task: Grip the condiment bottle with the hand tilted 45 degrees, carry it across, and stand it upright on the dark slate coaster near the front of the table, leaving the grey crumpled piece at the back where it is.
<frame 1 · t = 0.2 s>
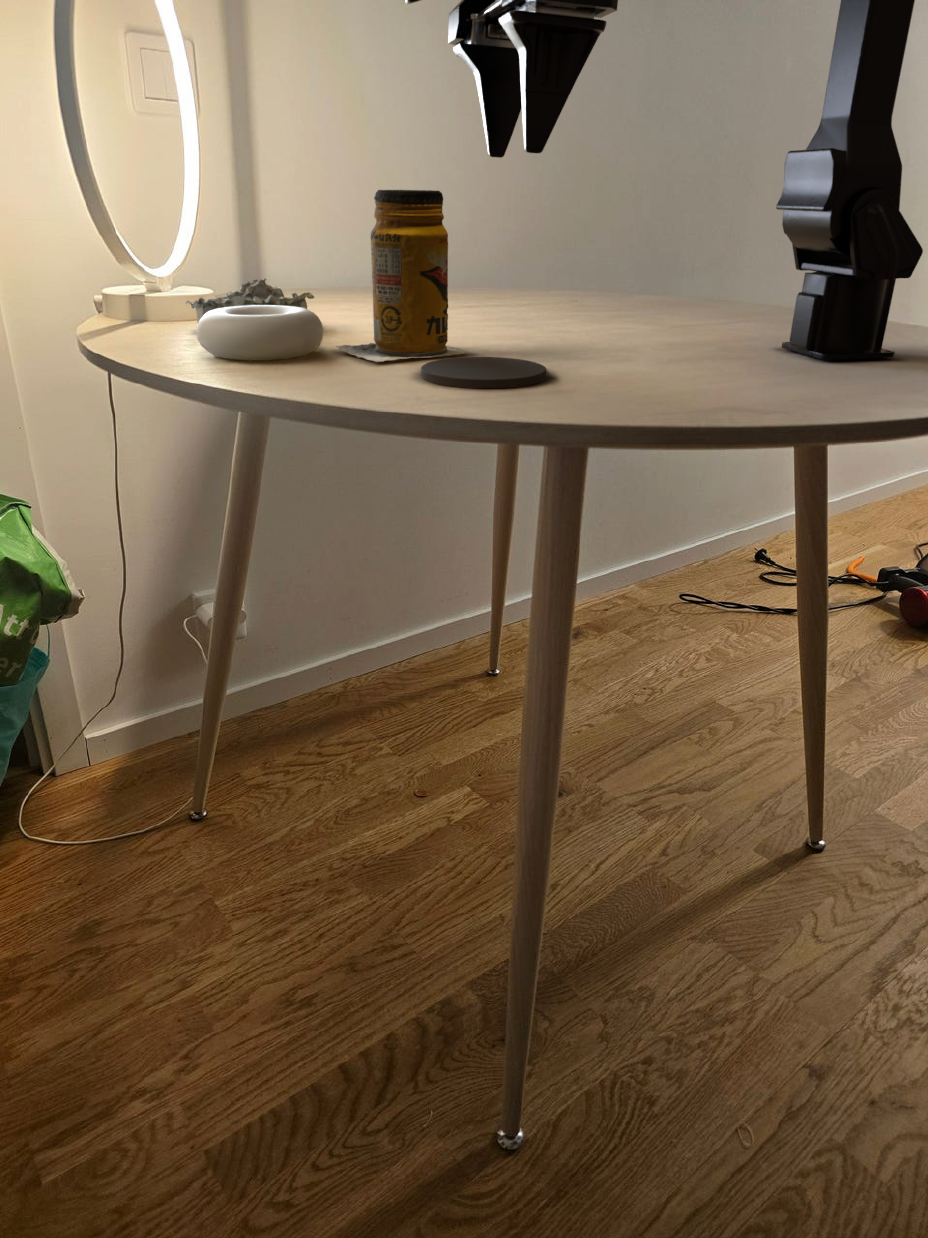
hand: (513, 155, 61), 14 cm above the table, tool pointing down, fingers open, 9 cm apart
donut: (263, 355, 72), on the table
grey crumpled piece: (256, 331, 84), on the table
coaster: (483, 375, 64), on the table
condiment: (401, 354, 72), on the table
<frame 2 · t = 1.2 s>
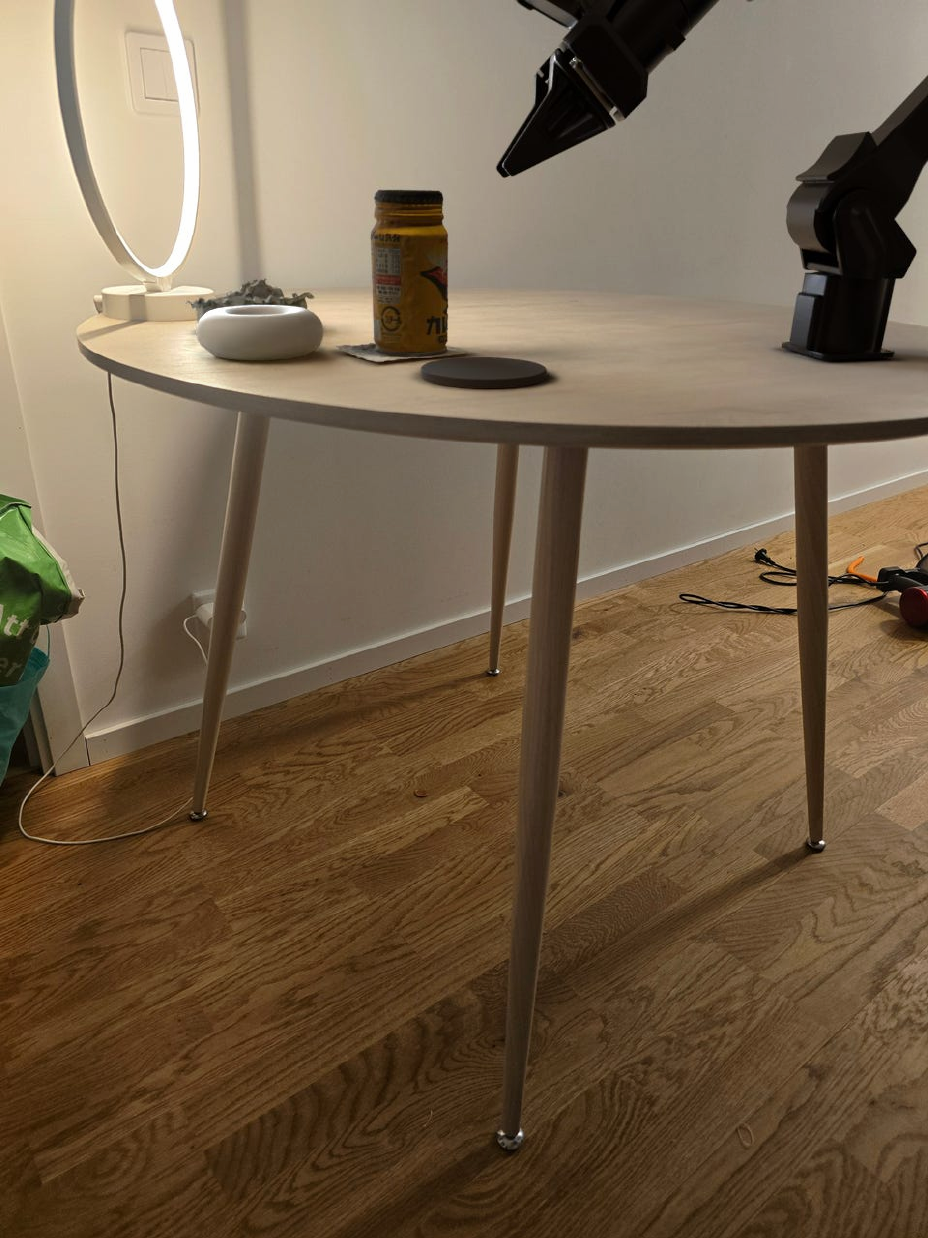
hand: (502, 172, 67), 13 cm above the table, tool tilted 45°, fingers open, 9 cm apart
nothing on the table moved.
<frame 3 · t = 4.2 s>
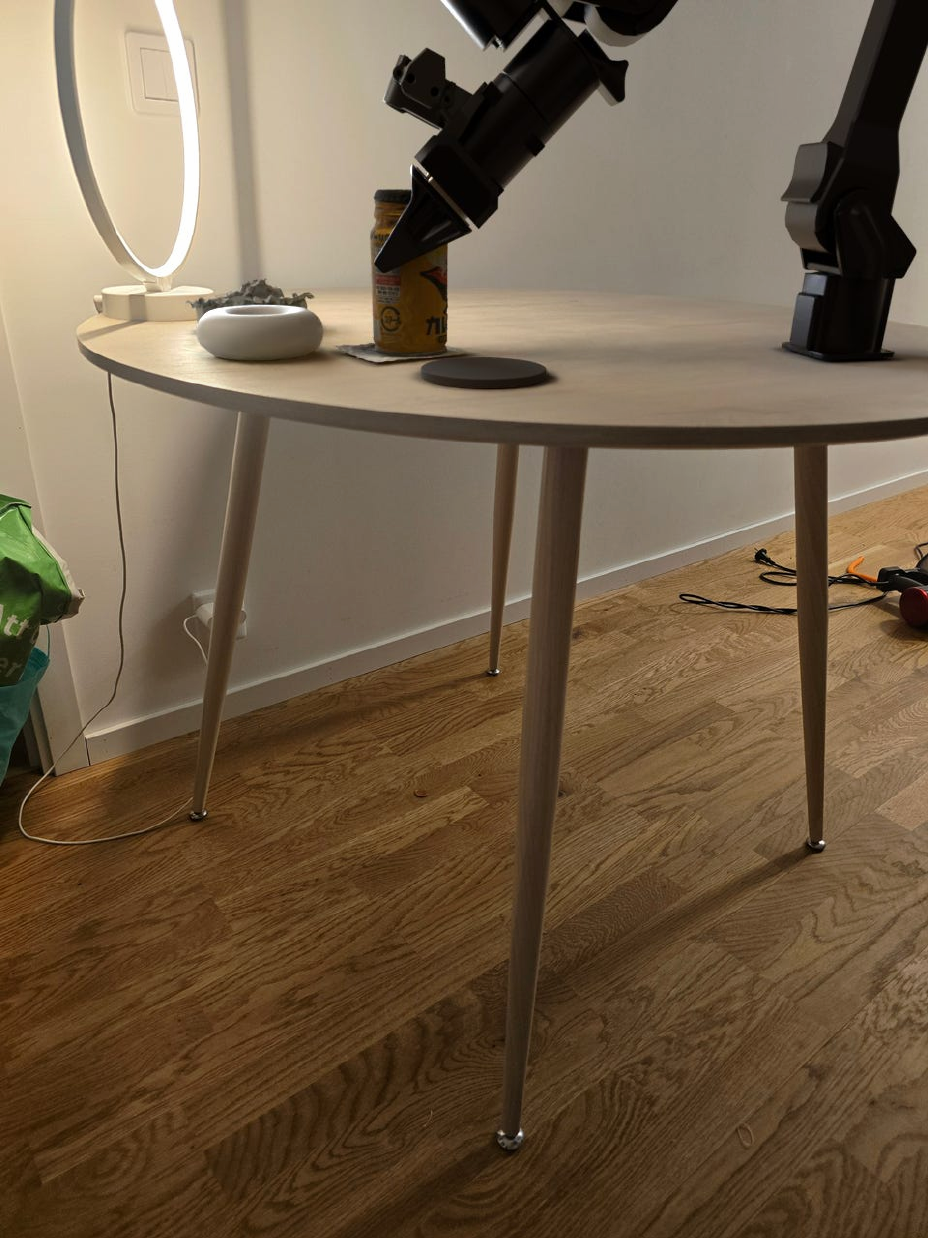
hand: (381, 265, 69), 7 cm above the table, tool tilted 45°, fingers closed on condiment, 6 cm apart
condiment: (400, 354, 72), on the table, touching gripper
everything else where it was.
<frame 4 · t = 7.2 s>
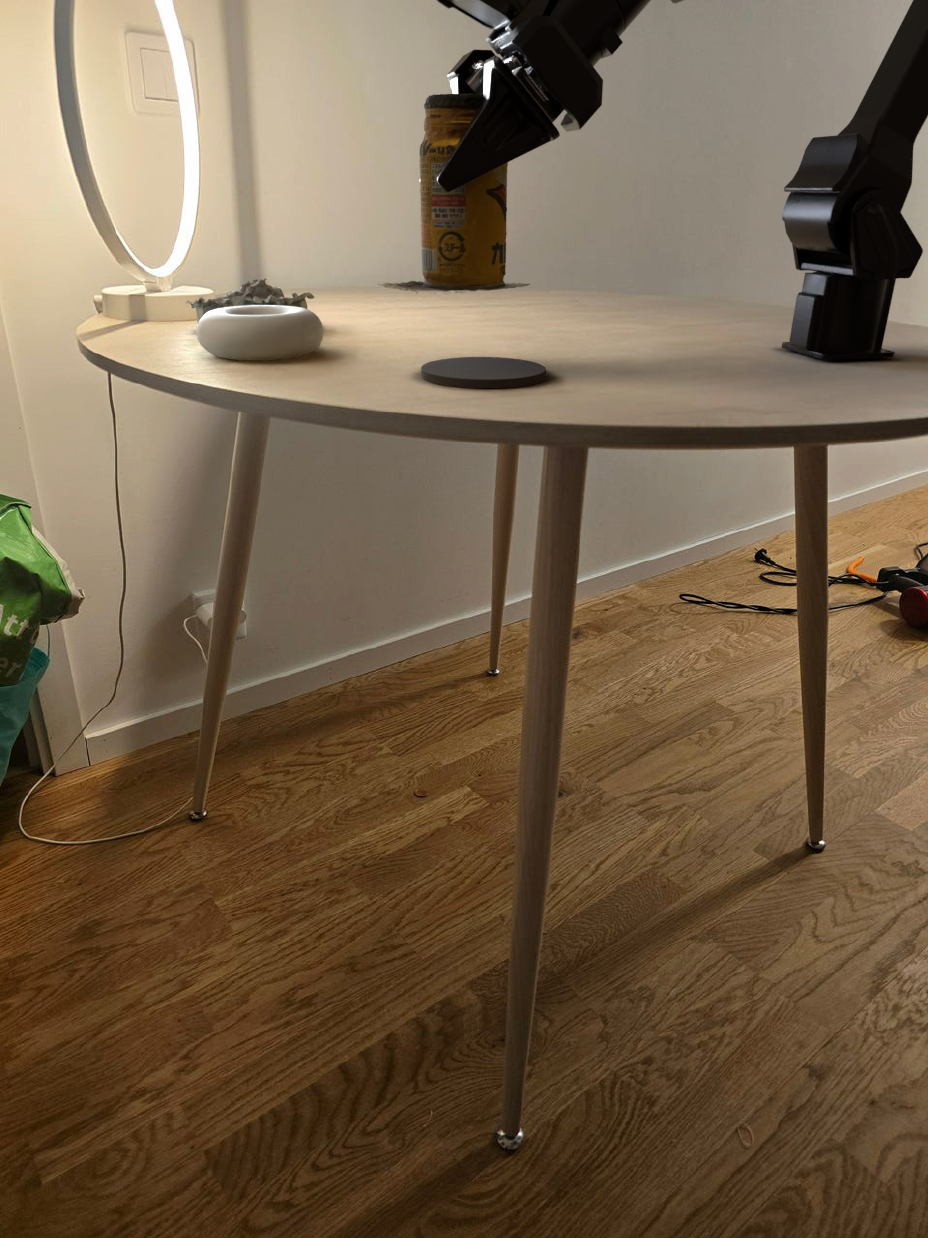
hand: (432, 186, 61), 12 cm above the table, tool tilted 45°, fingers closed on condiment, 6 cm apart
condiment: (454, 291, 64), point 5 cm above the table, touching gripper
everything else where it was.
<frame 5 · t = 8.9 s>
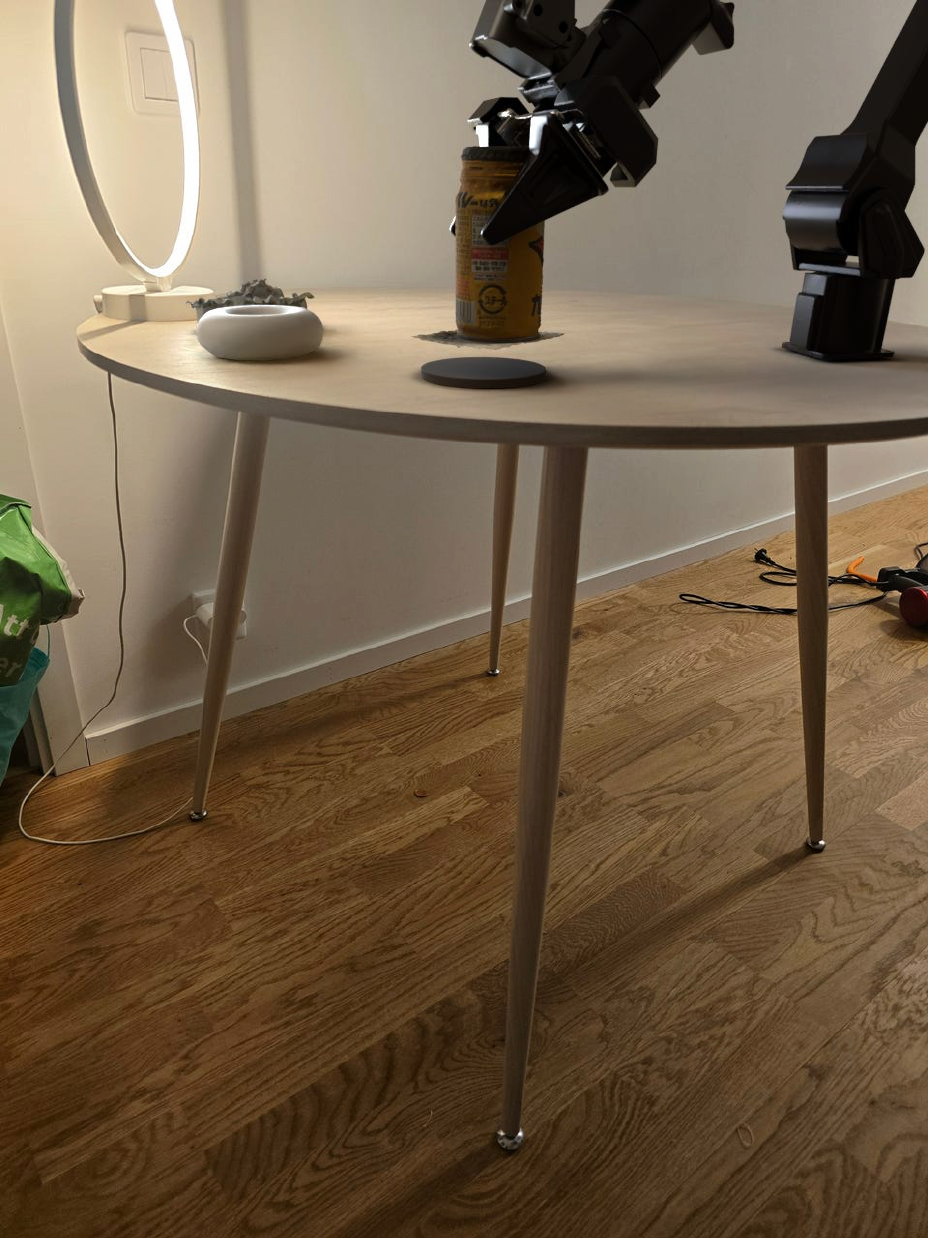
hand: (469, 237, 59), 9 cm above the table, tool tilted 45°, fingers closed on condiment, 6 cm apart
condiment: (489, 341, 62), point 2 cm above the table, touching gripper
everything else where it was.
when the fingers open (7 cm above the table, at t = 10.1 s): condiment stays where it is, resting on coaster.
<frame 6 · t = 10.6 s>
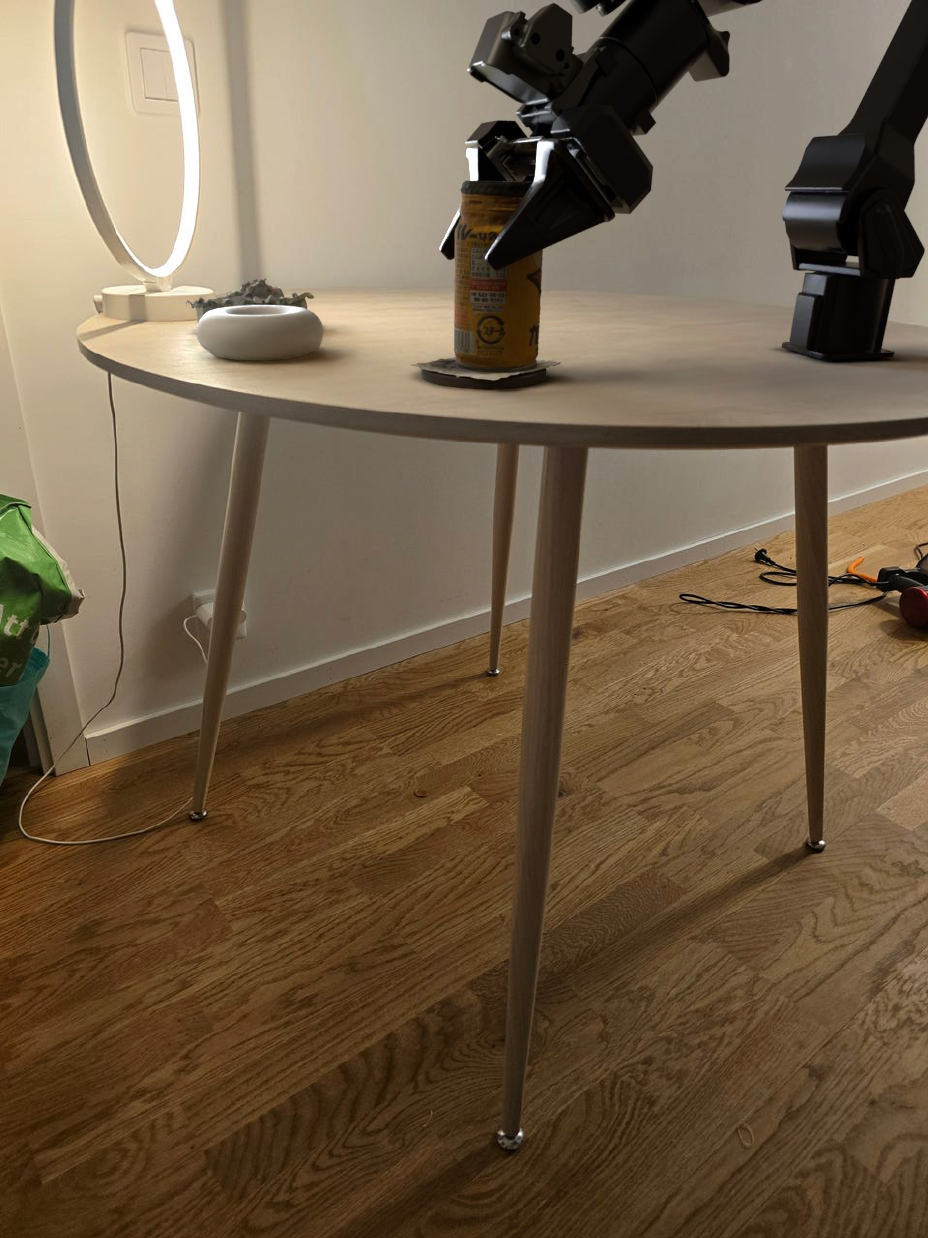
hand: (465, 259, 60), 8 cm above the table, tool tilted 45°, fingers open, 9 cm apart
condiment: (487, 370, 63), resting on coaster
everything else where it was.
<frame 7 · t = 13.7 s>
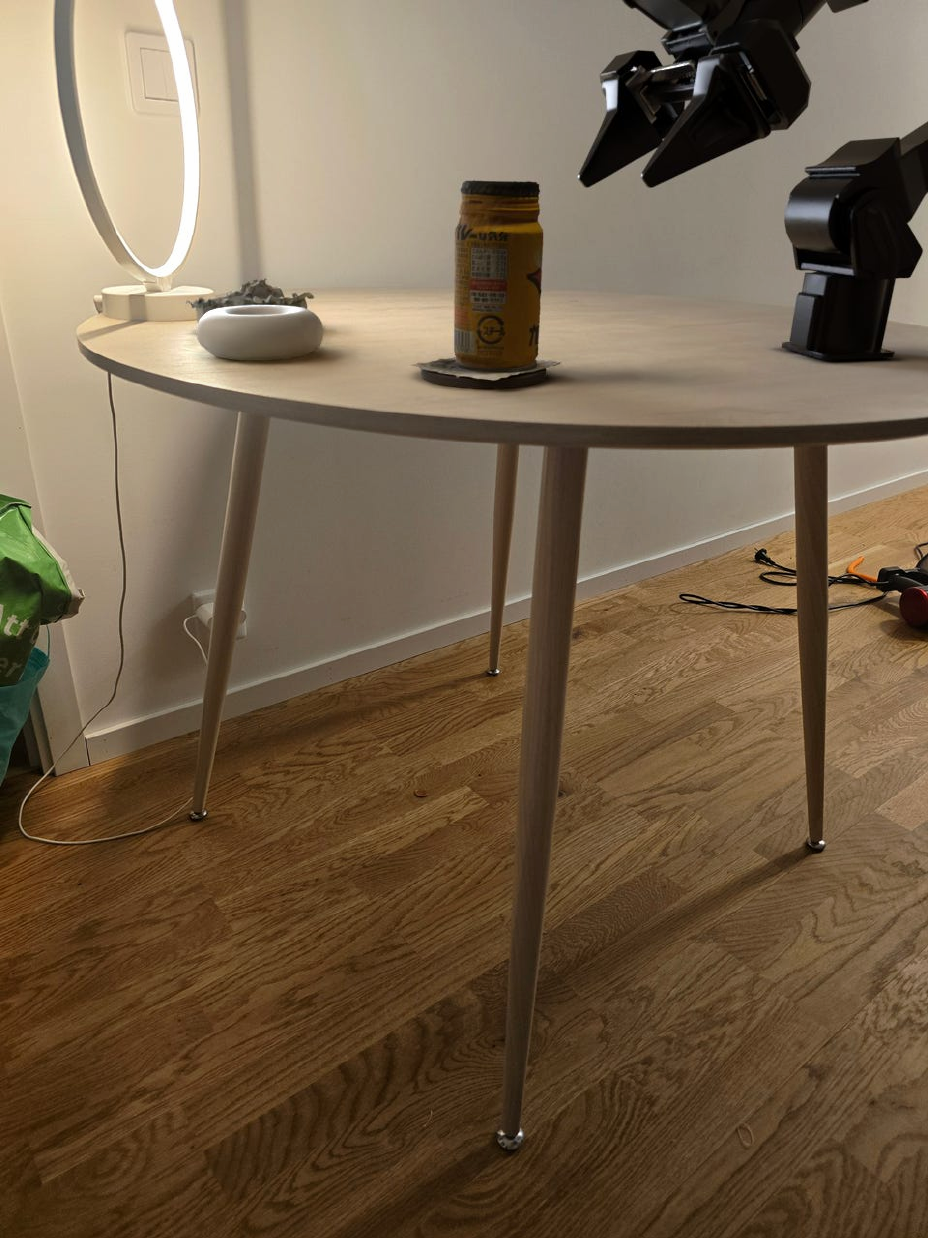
hand: (611, 182, 62), 13 cm above the table, tool tilted 45°, fingers open, 9 cm apart
nothing on the table moved.
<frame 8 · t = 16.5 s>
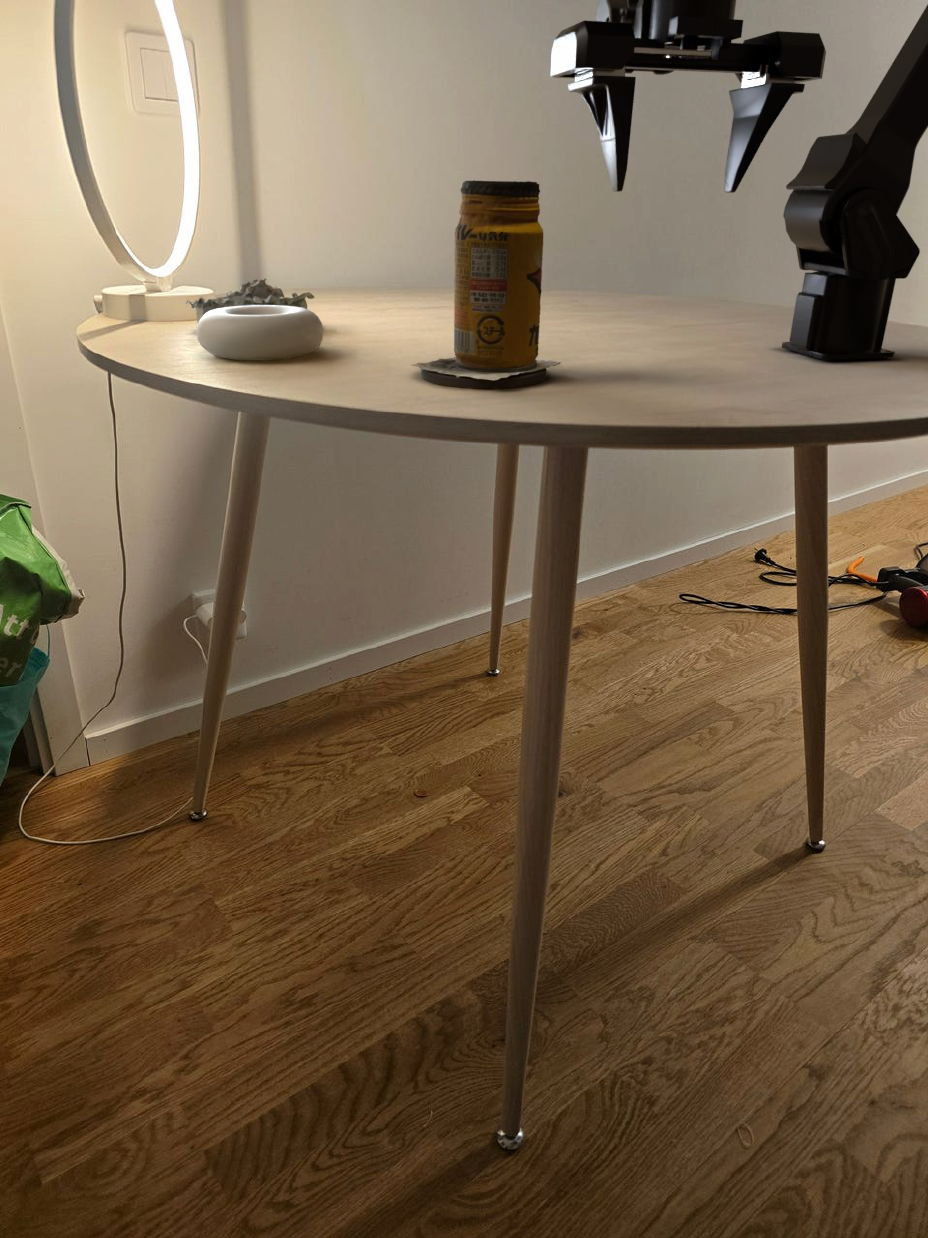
hand: (674, 191, 66), 12 cm above the table, tool pointing down, fingers open, 9 cm apart
nothing on the table moved.
at the end: condiment 0.4 cm off-centre on the coaster, point 0.4 cm above the coaster's base; condiment tilted 0°; grey crumpled piece moved 0.2 cm from its start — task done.
